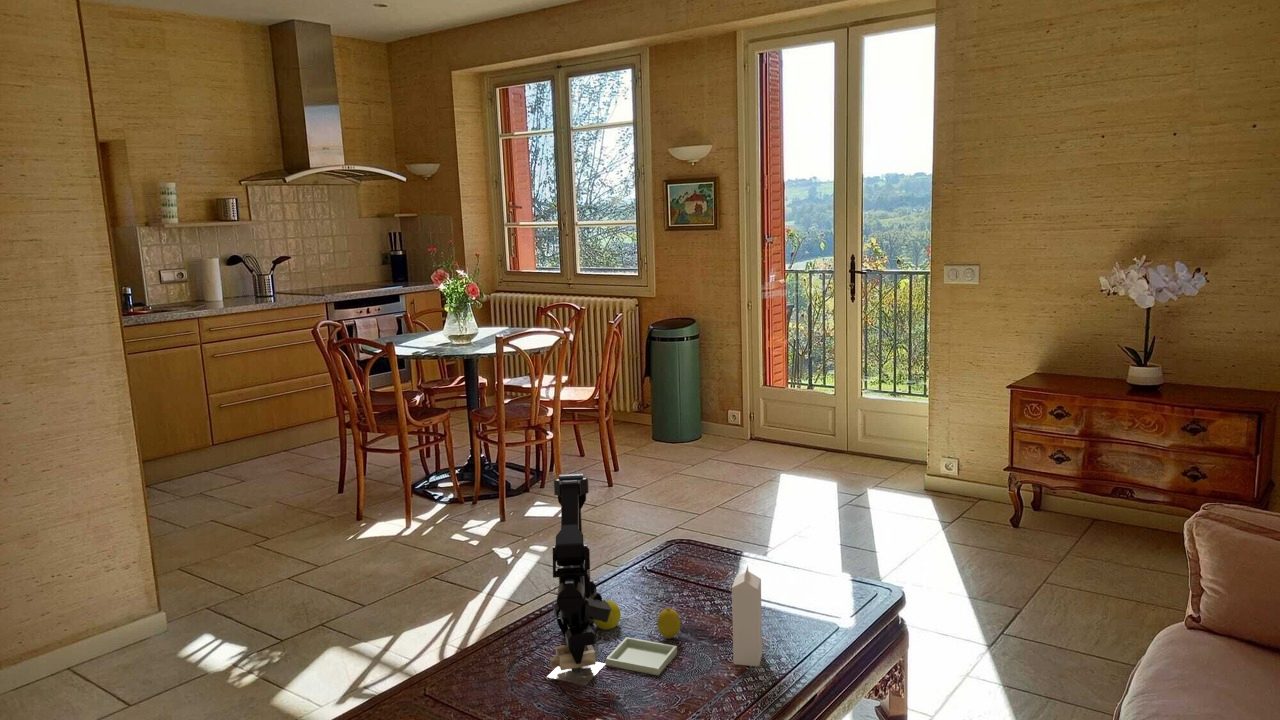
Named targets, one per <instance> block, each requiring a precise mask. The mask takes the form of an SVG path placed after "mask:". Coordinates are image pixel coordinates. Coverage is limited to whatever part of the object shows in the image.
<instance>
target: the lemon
mask: <svg viewBox="0 0 1280 720" xmlns="http://www.w3.org/2000/svg"><path fill="white" fill-rule="evenodd" d="M657 628H658V631H659V633H660V635H661V636H662V637H664V638H667V639H668V640H670V639H672V638H674V637H676V636H677V635H678V634H679V631H680V629H681V619H680V615H679V613H678V612H677V611H676V610H674V609H672V608H670V607H666V608H664V609H663V610H661V612H660V613H659V615H658V616H657Z"/></svg>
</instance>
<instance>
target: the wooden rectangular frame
mask: <svg viewBox="0 0 1280 720" xmlns="http://www.w3.org/2000/svg"><path fill="white" fill-rule="evenodd" d="M555 653H556V656H554V657H553V656H552V657H550V658H549V662H550V667H551V668H556V667H558V666H560V669H561V670H567V669H573V668H578V667H584V666H590V665H595V664H596V662H597V660H596V651H595V649H594V647H593V645H587V646H585V649H584V653H583V657H582V661H581V663H580V664H576V662H575V660H574V658H573V656H572V654H571V652H570V650H569V648H568V646H567V644H564V645H559V646H555Z"/></svg>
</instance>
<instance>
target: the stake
mask: <svg viewBox="0 0 1280 720" xmlns="http://www.w3.org/2000/svg"><path fill="white" fill-rule="evenodd" d="M605 665H606V662H605V663H604V662H598V661H596V664H595V665H590V666H584V667H578V668H573V669H567V670H561V669H560V666H558V667H554V669H553V670H552V671H551V672H550V673H549V674H548V675H547V676H546V678H549V679H554V680H560V681H564V682H568V683H572V684H578V685H582V686H587V685H588V683H590V681H592V679H594V677H595V676H596V675H597V674H598V673H599V672H600V671H601V670H602V669H603V667H604V666H605Z"/></svg>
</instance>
